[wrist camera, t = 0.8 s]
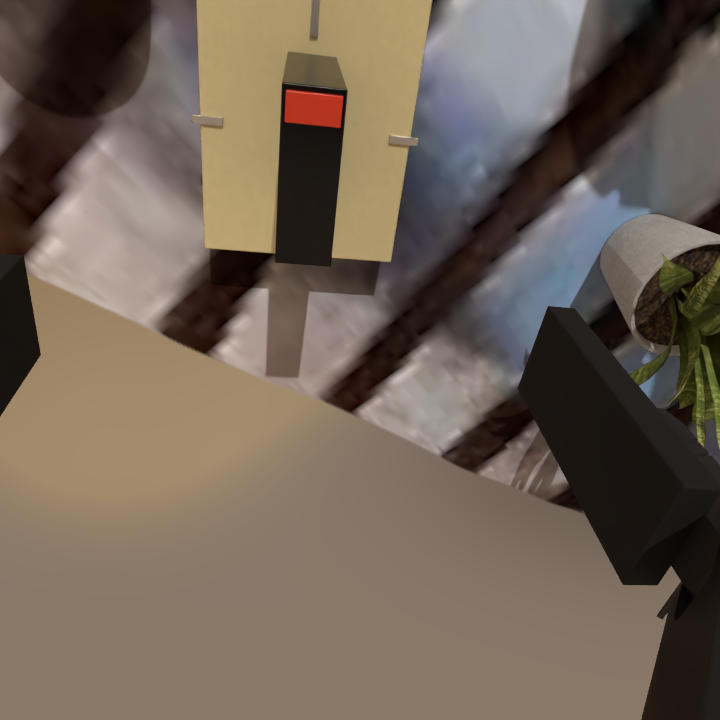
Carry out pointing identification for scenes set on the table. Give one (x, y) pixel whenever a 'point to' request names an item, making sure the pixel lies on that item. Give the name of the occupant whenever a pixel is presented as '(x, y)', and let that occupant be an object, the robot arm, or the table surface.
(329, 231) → the red-topped black block
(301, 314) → the table surface
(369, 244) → the tan box
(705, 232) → the house plant
